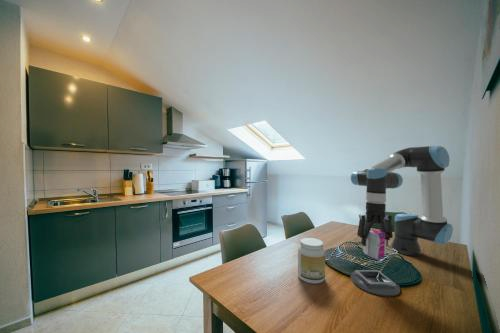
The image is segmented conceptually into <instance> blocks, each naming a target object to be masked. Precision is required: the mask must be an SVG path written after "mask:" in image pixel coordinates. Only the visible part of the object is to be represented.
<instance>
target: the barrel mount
mask: <svg viewBox="0 0 500 333" xmlns="http://www.w3.org/2000/svg"><path fill="white" fill-rule="evenodd" d="M378 273H379V280H380V281H382V282H377V279H376V276H377V275H378ZM350 281H351V282H352V284H354V285H355V286H356V287H357V288H359V289H360V290H362V291H364V292H366V293H369V294H372V295H375V296H379V297H387V298H390V297H392V298H393V297H397V296H398V295H400V293H401V287H400V285H399V283H397V281H395V280H394V279H393V278H391V277H389V276H388V275H385V274H384V273H382V272H381V271H380V270H377V269H376V270H375V269H362V270H361V269H355V270H354V271H353V272H351V273H350ZM396 283H397V284H396Z"/></svg>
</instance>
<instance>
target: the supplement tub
mask: <svg viewBox="0 0 500 333" xmlns="http://www.w3.org/2000/svg"><path fill="white" fill-rule="evenodd" d="M324 246H325V245H324V242H323V240H320V239H318V238H313V237H303V238H301V239H300V243H299V246H298V249H297V253H298V254H297V275H298V277H299V278H300V280H302V281H304V282H305V283H308V284H320V283H322V282H324V281H325V278H326V250H325V248H324Z"/></svg>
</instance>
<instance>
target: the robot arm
mask: <svg viewBox="0 0 500 333" xmlns="http://www.w3.org/2000/svg"><path fill="white" fill-rule="evenodd" d="M450 161H451V160H450V155H449V152H448V150H447V149H446V147H444V146H440V145H431V146H429V145H428V146H418V147H417V146H414V147H407V148H403V149H400V150H398V151H396V152H395V151H394V152H393V153H391V154H390V155H388V156H387V158H385V159H383V160H381V161H380V162H377V163H375V164H373V165H371V166H370V167H367V168H366V169H364V170H360V171H359V170H356V171H353V172H352V173H351V175H350V181H351V183H352V184H353V185H355V186H362V187H366V194H365V196H366V197H365V198H366V199H365V200H366V202H365V211H366V212H365V214H361V213H360V214H358V217H359V221H358V222H359V223H358V228H357V232H356V235H357V237H359V238H360V239H361V246H362V252H363V253H364V254H368V239H367V236H368V234H369V232H370V230H371V229H372V227H373V225H375V224H377V225H378V228H379V231H381V232H384V233H385V248H384V255H387V247H388V246H389V241H390V240H391V239H392V243H391V244H390V248H391V247H392V248H394V249H396V250H397V251H398V252H399V253H398V252H397V253H398V254H401V255H405V256H412V257H418V256H419V257H420V256H421V255H422V249H421V245H420V243H419V241H418V240H419V239H420V240H424V241H429V242H432V243H435V244H441V245H446V244H447V243H449V241H450V240H451V237H452V235H453V230H454V228H453V225H452V224H451V223H448V219H447V218H446V217H445V216H444V208H443V207H444V206H443V189H442V188H443V187H442V186H443V185H442V173H444V172H445V171H446V170H445V168H448V167H449V166H450ZM403 168H416V172H417V173H419V174H420V191H421V204H422V205H421V208H422V214H421V215H420V216H419V215H418V214H413V213H398V214H395V215H394V235H393V228H392V227H393V226H392V219H393V218H392V216H391V215H389V214H386V213H385V212H386V210H387V209H386V206H387V205H386V201H387V189H396V188H400V187H401V186H402V184H403V181H404V179H403V177H402V175H401V174H400V173H398V172H393V171H395V170H401V169H403Z"/></svg>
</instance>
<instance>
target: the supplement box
mask: <svg viewBox="0 0 500 333" xmlns="http://www.w3.org/2000/svg"><path fill="white" fill-rule="evenodd" d="M367 239H368V254H365V253H364V254H363V255H364V257H367V258H370V259H372V260H374V261H378V260H380V259H384V258H385V254H384V248H385V233H384V232H381V231H380V230H378V229H374V228H371V229H370V232H369V234H368V236H367Z"/></svg>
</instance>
